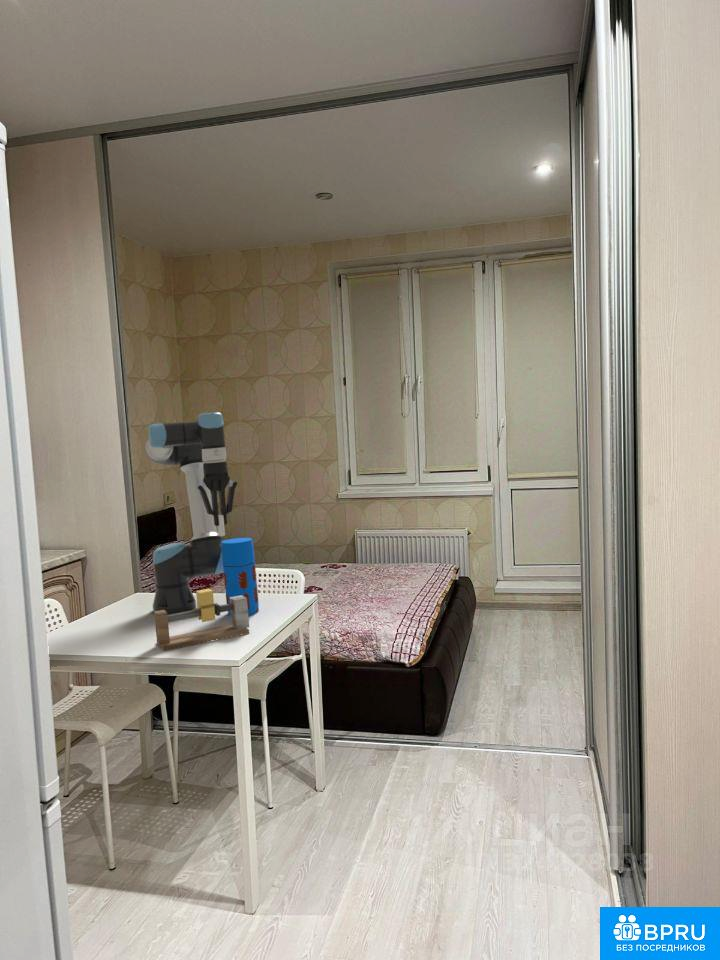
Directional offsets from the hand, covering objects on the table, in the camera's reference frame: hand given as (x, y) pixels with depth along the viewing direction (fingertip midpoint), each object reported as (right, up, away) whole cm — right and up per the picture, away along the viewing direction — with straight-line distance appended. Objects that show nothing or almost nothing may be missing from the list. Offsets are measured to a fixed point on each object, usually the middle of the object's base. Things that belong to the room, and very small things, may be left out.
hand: (221, 535), depth 239 cm
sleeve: (-3, -25, -9) cm, 27 cm away
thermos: (+4, -28, +19) cm, 34 cm away
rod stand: (-4, -31, -10) cm, 32 cm away
